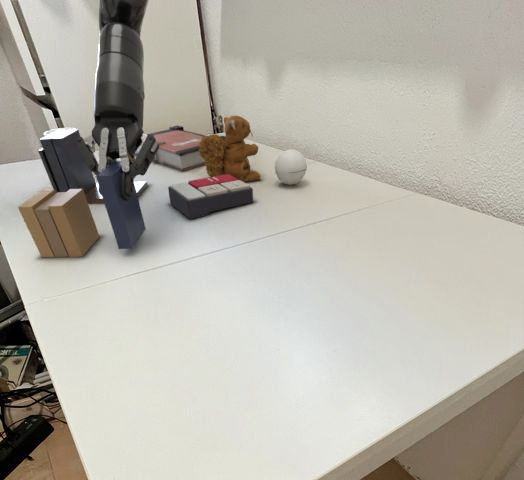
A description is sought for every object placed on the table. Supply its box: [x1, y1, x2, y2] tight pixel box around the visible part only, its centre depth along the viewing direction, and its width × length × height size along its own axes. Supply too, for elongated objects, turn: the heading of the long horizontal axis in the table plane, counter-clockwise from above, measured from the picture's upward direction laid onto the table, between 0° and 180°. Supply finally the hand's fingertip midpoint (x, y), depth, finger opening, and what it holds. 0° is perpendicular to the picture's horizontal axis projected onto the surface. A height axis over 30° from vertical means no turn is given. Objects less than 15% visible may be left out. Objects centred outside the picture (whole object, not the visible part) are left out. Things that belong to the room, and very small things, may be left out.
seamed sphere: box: [274, 148, 315, 186], centre depth 88 cm, size 10×7×7 cm
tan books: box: [17, 189, 101, 258], centre depth 67 cm, size 8×8×9 cm
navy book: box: [95, 160, 147, 250], centre depth 65 cm, size 2×8×12 cm, turn 176°
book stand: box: [37, 129, 149, 204], centre depth 87 cm, size 19×11×13 cm, turn 86°
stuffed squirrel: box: [197, 115, 261, 183], centre depth 91 cm, size 10×14×13 cm
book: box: [135, 125, 226, 173], centre depth 111 cm, size 26×18×5 cm
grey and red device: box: [167, 174, 254, 220], centre depth 82 cm, size 11×4×15 cm
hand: (115, 198), depth 62 cm, fingers closed on navy book, 2 cm apart
